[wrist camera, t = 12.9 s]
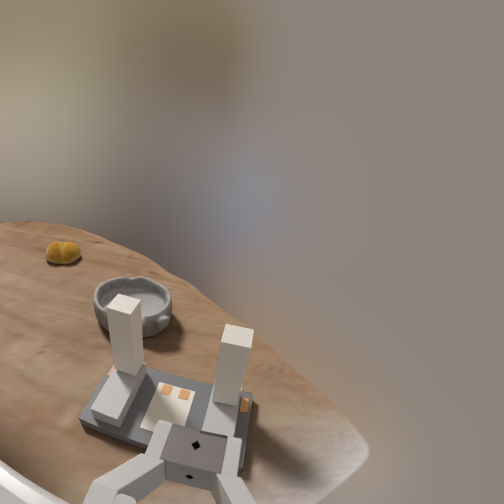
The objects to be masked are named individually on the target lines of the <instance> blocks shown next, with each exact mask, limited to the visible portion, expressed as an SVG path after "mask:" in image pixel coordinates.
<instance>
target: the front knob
mask: <svg viewBox="0 0 504 504" xmlns="http://www.w3.org/2000/svg"><path fill="white" fill-rule="evenodd" d="M253 332H254V330H253V329H248V328H243V327H238V326H233V325H228V324H226V326H225V329H224V333H223V337H222V340H221V345H220V351H219V358H218V364H217V371H216V377H215V384H214V390H213V397H212V401H214V402H218V403H223V404H228V405H233V406H237V402H238V398H239V394H240V390H241V386H242V382H243V378H244V374H245V370H246V366H247V362H248V358H249V354H250V350H251V345H252V338H253Z"/></svg>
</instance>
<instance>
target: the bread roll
mask: <svg viewBox="0 0 504 504" xmlns="http://www.w3.org/2000/svg"><path fill="white" fill-rule="evenodd" d="M80 252H81V251H80V248H79V246H78V245H77V244H76V243H73V242H66V243H64V244H63V243H62V242H59V241H55V242H52V243H51V244H50V245H49V247H48V249H47V251H46V259H47V260H48V261H49V262H51V263H54V264H61V263H62V264H70V263H73V262H74V261H76V260H77V259H79V258H80V255H81V253H80Z"/></svg>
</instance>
